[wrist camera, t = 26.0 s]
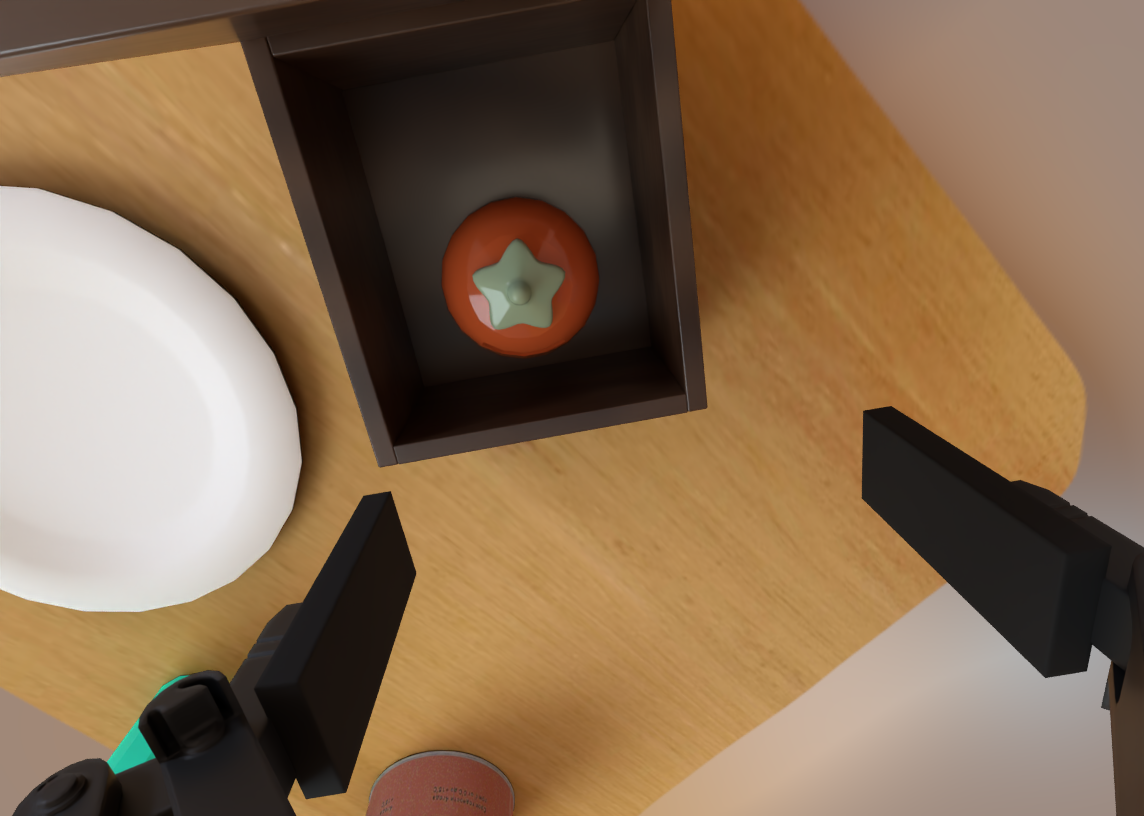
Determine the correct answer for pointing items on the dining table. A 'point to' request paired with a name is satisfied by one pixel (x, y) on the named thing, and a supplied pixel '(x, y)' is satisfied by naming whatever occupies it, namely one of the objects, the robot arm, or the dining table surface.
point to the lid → (160, 26)
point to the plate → (130, 416)
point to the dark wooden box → (475, 177)
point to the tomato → (520, 277)
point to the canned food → (441, 787)
